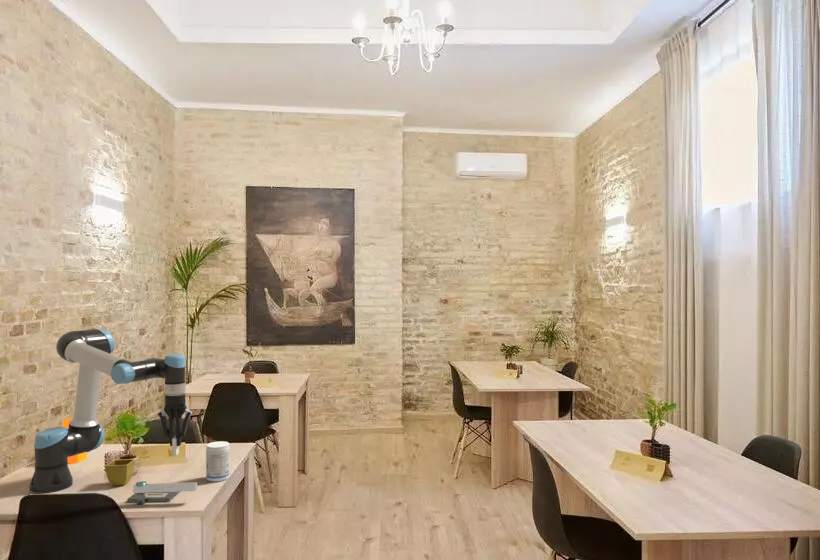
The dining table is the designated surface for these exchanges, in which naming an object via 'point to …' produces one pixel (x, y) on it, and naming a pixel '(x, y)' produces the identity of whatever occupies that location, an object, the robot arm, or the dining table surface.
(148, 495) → the label plate
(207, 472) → the supplement tub
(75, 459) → the orange juice
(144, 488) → the swing bar
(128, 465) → the flower pot
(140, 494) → the pivot post
